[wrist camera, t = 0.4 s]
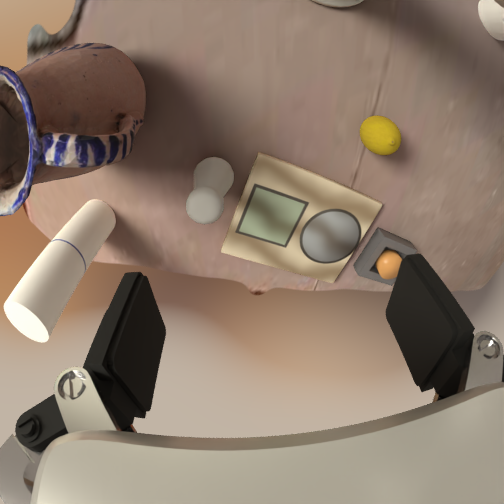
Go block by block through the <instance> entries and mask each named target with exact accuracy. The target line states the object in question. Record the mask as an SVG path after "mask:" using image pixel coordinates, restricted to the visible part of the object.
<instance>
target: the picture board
mask: <svg viewBox="0 0 504 504" xmlns="http://www.w3.org/2000/svg"><path fill="white" fill-rule="evenodd" d="M381 206H382V203H381V202H380V201H378V200H376V199H373V198H371V197H369V196H367V195H365V194H363V193H361V192H358V191H356V190H354V189H352V188H350V187H347V186H345V185H343V184H340V183H338V182H336V181H334V180H331V179H329V178H326V177H324V176H322V175H319V174H317V173H314V172H312V171H309V170H307V169H304V168H302V167H299V166H297V165H294V164H291V163H289V162H286V161H283V160H281V159H278V158H275V157H272V156H270V155H267V154H264V153H261V152H258V154H257V157H256V159H255V162H254V164H253V167H252V170H251V172H250V175H249V177H248V180H247V182H246V185H245V187H244V190H243V193H242V195H241V198H240V200H239V203H238V206H237V208H236V211H235V214H234V216H233V219H232V221H231V224H230V227H229V229H228V232H227V235H226V238H225V240H224V243H223V246H222V249H221V252H222V253H225V254H229V255H233V256H236V257H240V258H243V259H247V260H250V261H254V262H257V263H261V264H264V265H268V266H272V267H275V268H279V269H282V270H286V271H290V272H293V273H297V274H300V275H304V276H308V277H311V278H315V279H318V280H322V281H326V282H329V283H333V282H334V281H335V279H336V278H337V276H338V275H339V273H340V272H341V270H342V269H343V267H344V266H345V264H346V263H347V261H348V260H349V258H350V257H351V255H352V254H353V252H354V250H355V249H356V248H357V246H358V244H359V243H360V241H361V239H362V238H363V236H364V235H365V233H366V231H367V230H368V228H369V227H370V225H371V223H372V222H373V220H374V218H375V217H376V215H377V213H378V212H379V210H380V208H381Z"/></svg>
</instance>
